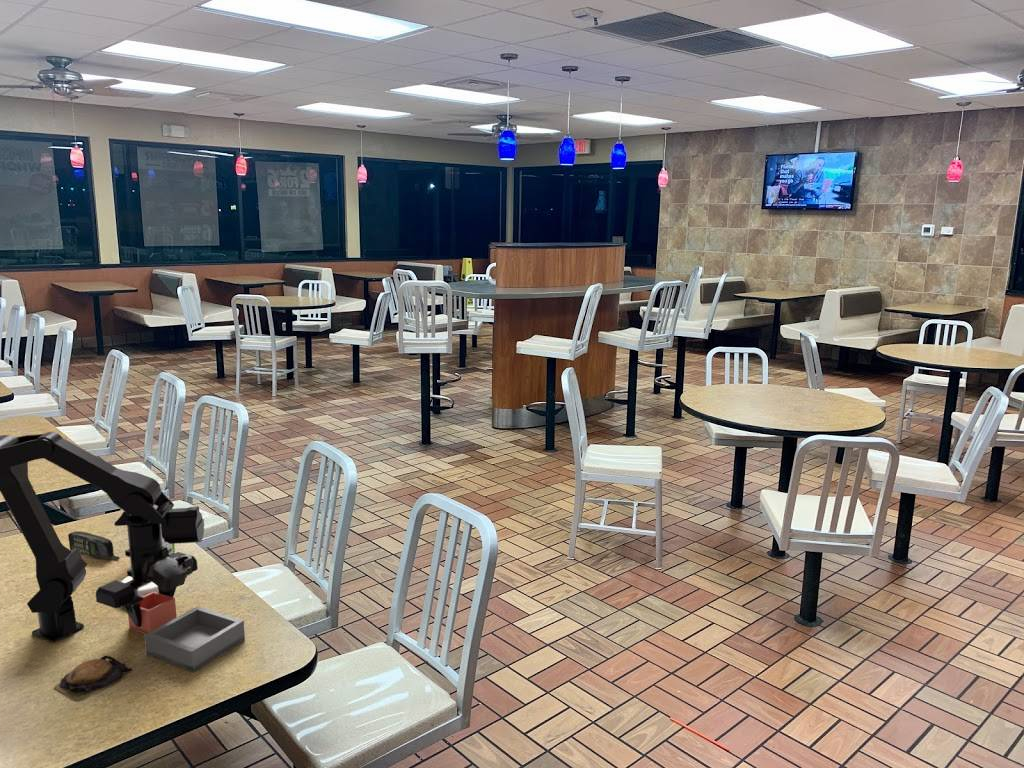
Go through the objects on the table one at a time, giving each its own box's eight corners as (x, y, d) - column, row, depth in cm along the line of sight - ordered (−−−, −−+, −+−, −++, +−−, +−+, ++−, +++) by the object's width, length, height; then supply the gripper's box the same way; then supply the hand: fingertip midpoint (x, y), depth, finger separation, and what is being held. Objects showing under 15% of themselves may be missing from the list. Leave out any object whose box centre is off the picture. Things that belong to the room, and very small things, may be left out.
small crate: (129, 628, 149) (127, 604, 148) (155, 614, 154) (153, 591, 153) (150, 635, 146) (148, 611, 145) (177, 621, 151) (174, 598, 150)
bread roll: (78, 706, 126) (75, 686, 125) (50, 689, 130) (47, 670, 129) (138, 674, 135) (136, 655, 134) (110, 659, 139) (108, 641, 138)
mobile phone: (65, 533, 182) (108, 542, 176) (76, 528, 185) (120, 538, 178) (67, 552, 183) (111, 563, 177) (79, 548, 186) (122, 558, 179)
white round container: (114, 593, 163) (112, 578, 162) (163, 580, 169) (162, 565, 169) (127, 611, 155) (126, 595, 155) (178, 596, 162) (177, 581, 161)
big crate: (146, 655, 140) (144, 635, 139) (199, 625, 150) (197, 606, 149) (193, 672, 134) (191, 651, 134) (244, 640, 145) (243, 620, 144)
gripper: (131, 572, 135) (139, 652, 138) (214, 534, 151) (220, 607, 155) (89, 559, 140) (98, 637, 143) (174, 524, 156) (180, 595, 159)
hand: (152, 618), depth 150 cm, fingers closed on small crate, 6 cm apart
